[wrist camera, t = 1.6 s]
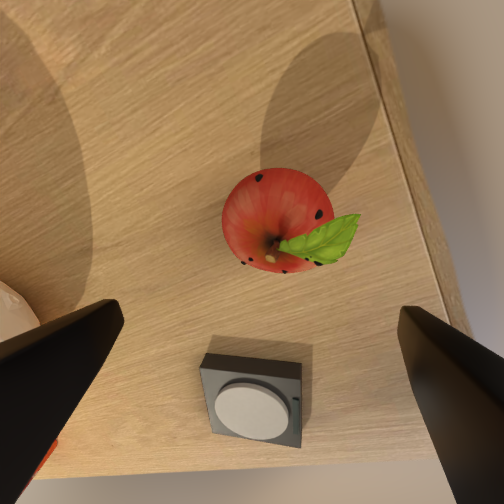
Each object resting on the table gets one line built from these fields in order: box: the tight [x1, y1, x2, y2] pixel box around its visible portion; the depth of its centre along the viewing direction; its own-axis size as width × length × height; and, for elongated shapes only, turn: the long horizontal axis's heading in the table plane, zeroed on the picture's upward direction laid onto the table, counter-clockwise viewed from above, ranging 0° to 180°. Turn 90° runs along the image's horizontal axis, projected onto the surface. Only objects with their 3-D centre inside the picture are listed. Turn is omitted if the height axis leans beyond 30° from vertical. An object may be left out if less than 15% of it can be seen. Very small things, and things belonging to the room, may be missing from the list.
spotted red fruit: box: [222, 168, 361, 274], centre depth 16 cm, size 8×7×10 cm
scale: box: [199, 353, 302, 448], centre depth 29 cm, size 10×10×3 cm
